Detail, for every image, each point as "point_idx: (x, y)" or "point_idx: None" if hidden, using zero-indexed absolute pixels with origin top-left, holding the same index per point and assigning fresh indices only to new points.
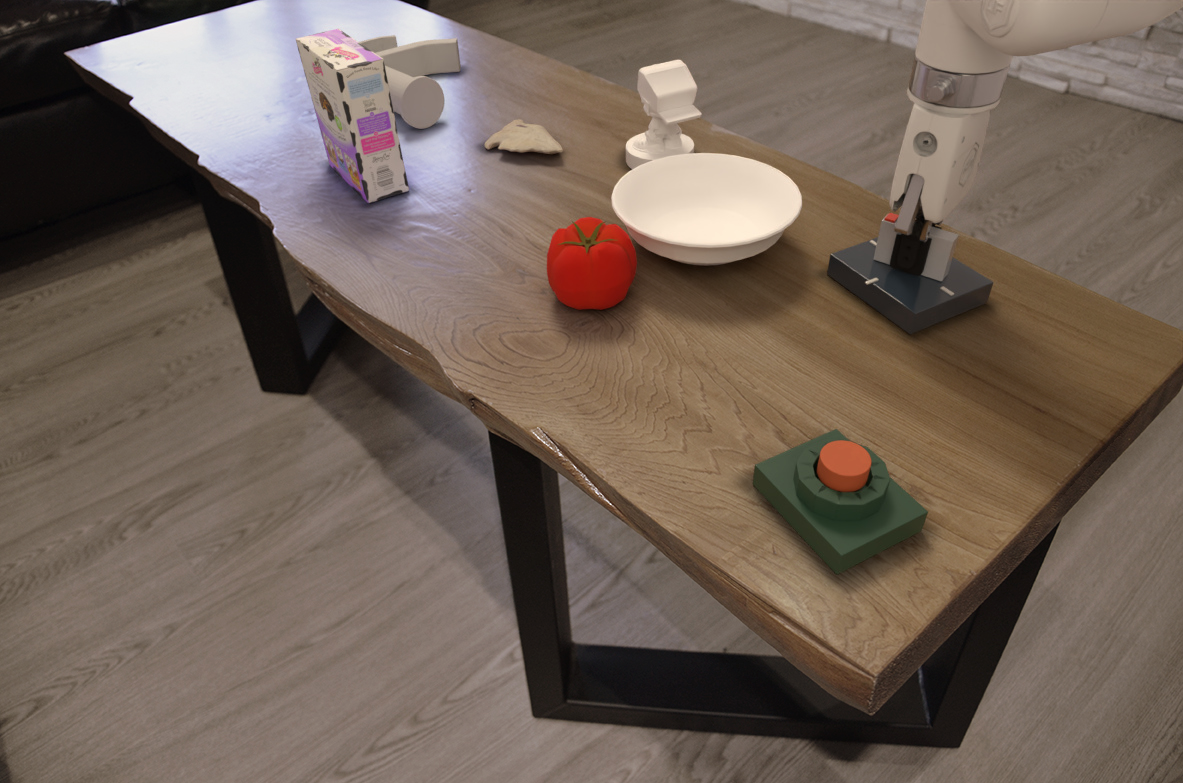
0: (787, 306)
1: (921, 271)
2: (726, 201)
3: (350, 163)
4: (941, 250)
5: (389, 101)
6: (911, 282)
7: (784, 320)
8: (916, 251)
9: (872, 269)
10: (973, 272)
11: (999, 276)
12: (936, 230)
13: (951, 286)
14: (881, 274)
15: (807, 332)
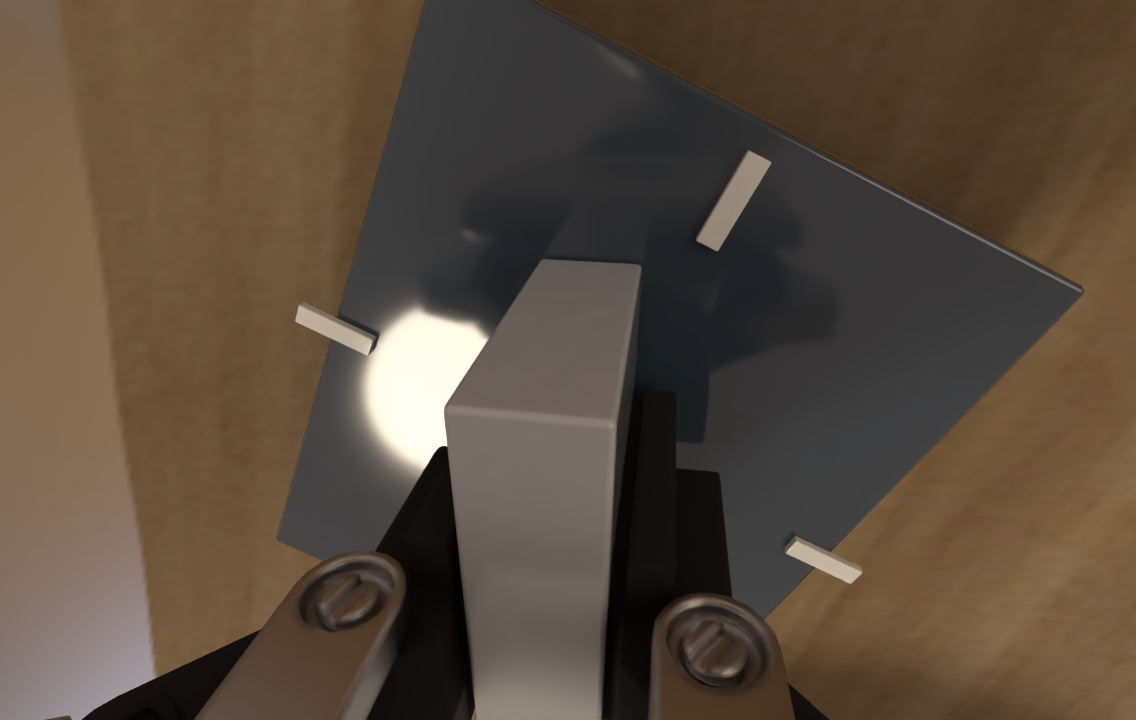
0: (952, 681)
1: (672, 403)
2: None
3: None
4: (623, 424)
5: None
6: (730, 402)
7: (1060, 672)
8: (724, 557)
9: None
10: (416, 127)
11: (206, 13)
12: (504, 573)
13: (652, 195)
14: (728, 535)
15: (1127, 598)
